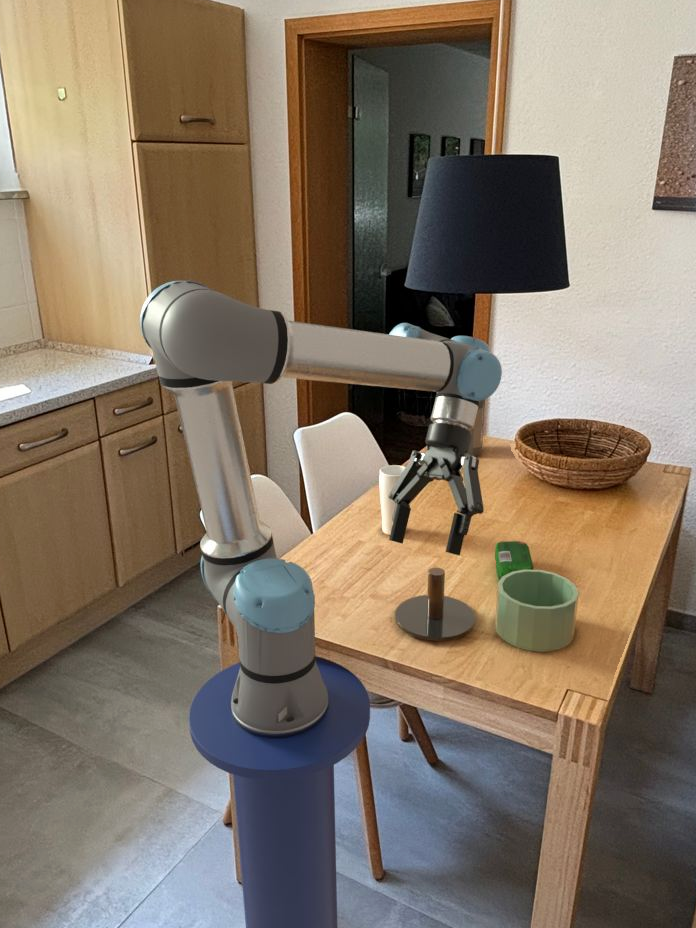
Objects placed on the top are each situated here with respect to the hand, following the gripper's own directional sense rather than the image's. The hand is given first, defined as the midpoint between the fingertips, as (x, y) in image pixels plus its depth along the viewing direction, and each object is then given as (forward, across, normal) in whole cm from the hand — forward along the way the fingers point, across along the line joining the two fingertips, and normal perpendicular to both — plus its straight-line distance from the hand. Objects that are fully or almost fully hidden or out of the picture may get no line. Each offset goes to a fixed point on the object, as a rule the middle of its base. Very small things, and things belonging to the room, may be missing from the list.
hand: (423, 547), depth 130 cm
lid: (+12, +5, -12) cm, 17 cm away
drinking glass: (-3, +36, -27) cm, 46 cm away
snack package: (0, +6, -34) cm, 34 cm away
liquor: (-33, +61, -71) cm, 99 cm away
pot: (+9, -8, -24) cm, 27 cm away
